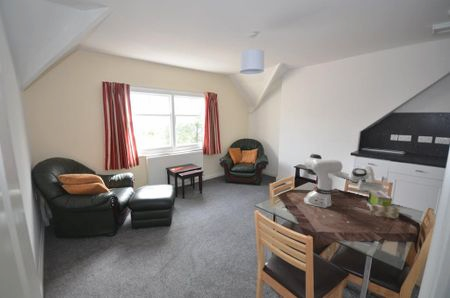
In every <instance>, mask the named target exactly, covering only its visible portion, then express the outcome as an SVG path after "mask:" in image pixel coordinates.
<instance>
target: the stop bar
mask: <svg viewBox="0 0 450 298" xmlns="http://www.w3.org/2000/svg"><path fill="white" fill-rule="evenodd" d="M400 210H401V209H400V208H399V207H398V206H392V205H391V206H383V205H374V204H371V206H370V208H369V213H370V214H371V215H370V214H369V215H370V216H373V215H376V216H375V217H381V216H385V217H384V218H389V217H391V218H390V219H396V218H398V219H399V215H400Z"/></svg>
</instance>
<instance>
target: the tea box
mask: <svg viewBox="0 0 450 298" xmlns="http://www.w3.org/2000/svg"><path fill="white" fill-rule="evenodd" d="M392 201H393V198H392V197H391V196H390V195H388V193H386V192H383V191H377V190H370V193H369V194H368V200H367V203H366V205H367V207H368V206H369V207H368V208H369V209H370V206H371V204H374V205H383V206H391V207H392Z"/></svg>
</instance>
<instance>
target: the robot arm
mask: <svg viewBox="0 0 450 298" xmlns="http://www.w3.org/2000/svg"><path fill="white" fill-rule="evenodd" d="M303 165H304V166H305V168H307V169H306V172H307V174H308V175H309V176H317V186H316V185H313V190H312V191H309V192H308V193H307V194H306V196H305V197H304V198H303V201H304V203H305V204H306V205H309V206H313V207H314V206H315V207H320V208H323V209H324V208H325V209H326V208H328V207H331V206H332V205H333V204H332V193H333V189H332V188H333V179H332V178H331V177H329V175H332V176H335V177H337V178H341V179H343V180H346V181H349V182H351V183H353V184H357V191H358V192H361V193H362V192H364V193H367V195H369V193H370V190H377V191H383V192H385V188H384V185H383V184H382V183H376V179H375V173H374V170H373V167H371V166H369V165H363V166H362V167H355V168H353V169H352V171H351V172H350V173H348V172H344V171H343V170H342V169H343V163H342V162H341V160H338V159H327V158H326V159H325V158H322V156H321V155H320V154H319V153H312V154H311V155H309V158H306V159H305V160H304V164H303ZM385 193H386V192H385Z"/></svg>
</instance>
